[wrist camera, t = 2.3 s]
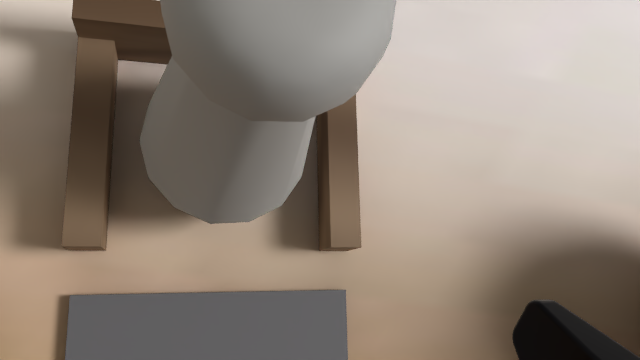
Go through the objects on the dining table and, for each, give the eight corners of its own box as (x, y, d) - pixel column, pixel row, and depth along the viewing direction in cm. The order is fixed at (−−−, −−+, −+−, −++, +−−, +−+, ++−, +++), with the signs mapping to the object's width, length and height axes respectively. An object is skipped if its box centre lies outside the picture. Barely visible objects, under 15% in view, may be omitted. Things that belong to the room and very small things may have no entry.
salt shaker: (312, 129, 22) (491, -73, 10) (258, 255, 21) (396, 195, 8) (182, 65, 21) (207, -243, 9) (114, 192, 20) (34, 22, 7)
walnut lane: (347, 250, 22) (374, 243, 19) (69, 250, 19) (52, 242, 16) (341, 59, 23) (365, 26, 21) (86, 32, 21) (73, -10, 18)
